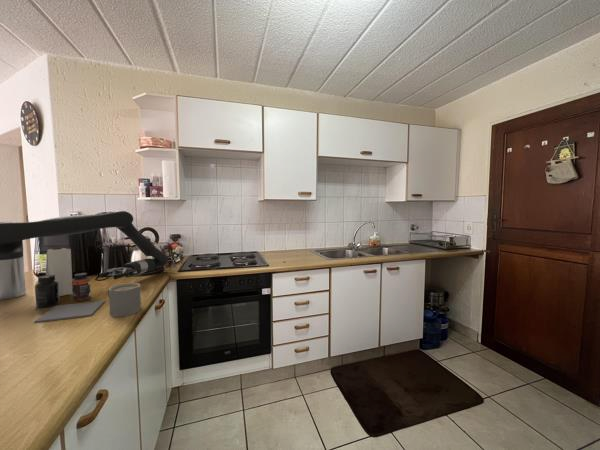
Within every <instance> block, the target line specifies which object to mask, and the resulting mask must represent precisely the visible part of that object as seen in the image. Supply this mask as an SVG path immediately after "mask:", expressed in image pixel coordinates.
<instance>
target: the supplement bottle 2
mask: <svg viewBox="0 0 600 450" xmlns="http://www.w3.org/2000/svg"><path fill="white" fill-rule="evenodd" d="M91 291H92V289H91V278H90V277H88V273H87V272H81V273H80V272H79V273H75V274H74V278H73V279H72V293H73V294H72V301H73V302H81V301H82V302H83V301H86V300H89V299H90V298H91V297H92V292H91Z"/></svg>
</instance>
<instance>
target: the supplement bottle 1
mask: <svg viewBox="0 0 600 450" xmlns="http://www.w3.org/2000/svg"><path fill="white" fill-rule="evenodd" d="M54 280H55V275H49V274H48V275H42V276H38V277H37V284H35V285H34V293H35V307H37V308H40V309H43V308H49V307H55V306H57V305H58V304H60V301H61V300H60V296H59V283H58V282H57V281H54Z"/></svg>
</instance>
